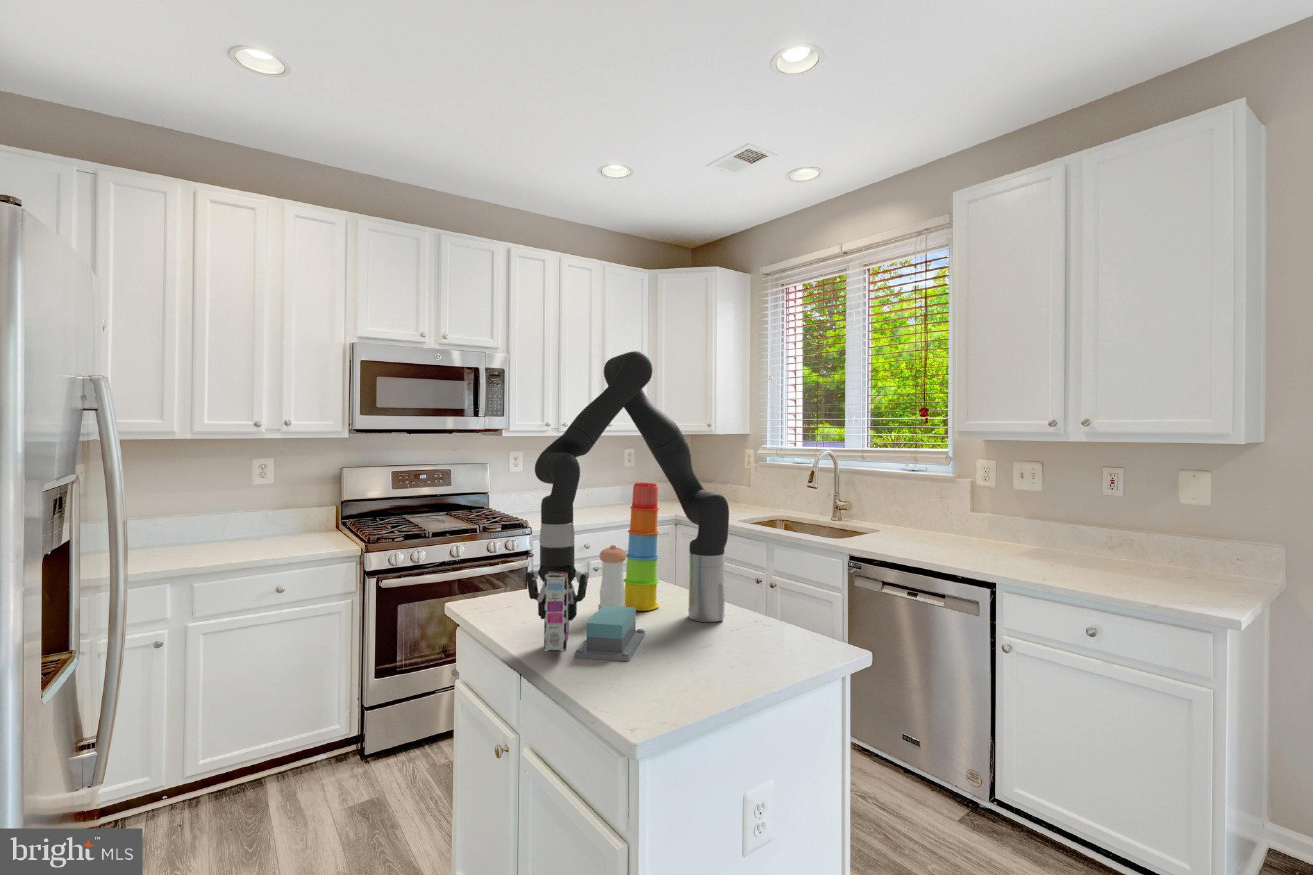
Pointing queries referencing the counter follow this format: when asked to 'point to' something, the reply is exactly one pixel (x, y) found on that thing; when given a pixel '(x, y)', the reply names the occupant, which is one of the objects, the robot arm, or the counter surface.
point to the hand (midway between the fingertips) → (557, 618)
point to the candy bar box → (556, 611)
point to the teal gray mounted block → (611, 635)
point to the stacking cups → (642, 549)
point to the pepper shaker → (612, 577)
